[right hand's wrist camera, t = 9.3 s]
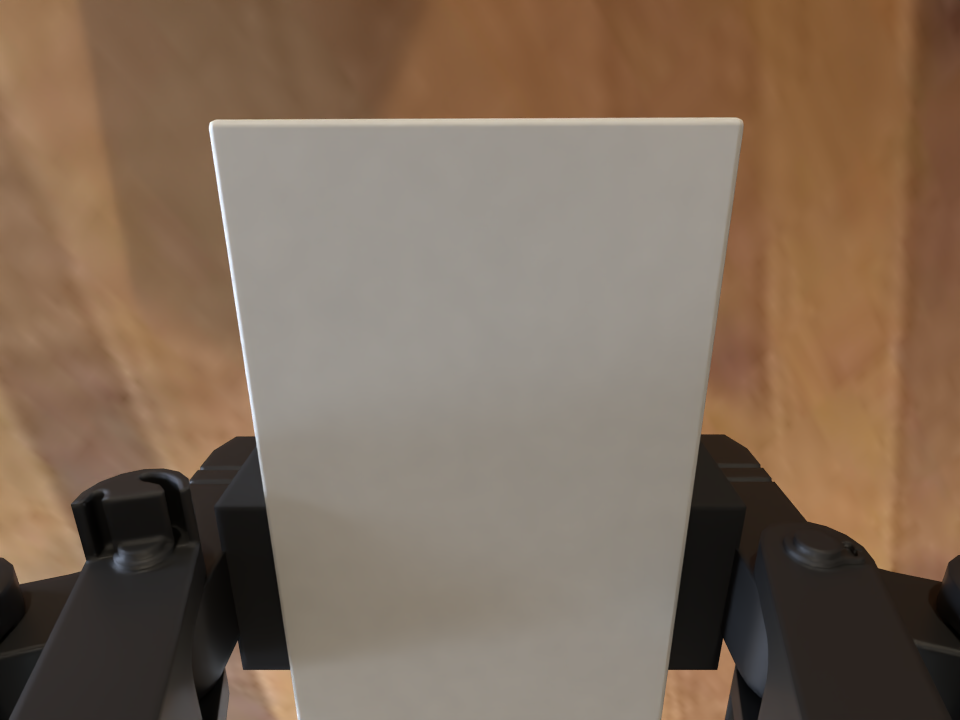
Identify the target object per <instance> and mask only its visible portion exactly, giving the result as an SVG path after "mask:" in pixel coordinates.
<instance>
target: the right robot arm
mask: <svg viewBox="0 0 960 720" xmlns="http://www.w3.org/2000/svg"><path fill="white" fill-rule="evenodd" d="M771 479H772V478H771V477H770V476H769V475H768V473H767V472H766V471H765V470H764V468H761V467H760V464H759V462H758V461H757V460H756V459H755V458H754V456H753V455H752V454H751V453H750V451H749V450H748V449H747V448H745V447H744V446H742V445H741V444H739V443H737V442H736V441H734V440H732V439H731V438H729V437H727V436H726V435H701V436H700V443H699V451H698V458H697V465H696V472H695V479H694V487H693V494H692V501H691V508H690V515H689V522H688V530H687V537H686V544H685V551H684V558H683V566H682V573H681V580H680V587H679V594H678V601H677V609H676V616H675V623H674V630H673V637H672V645H671V652H670V659H669V666H668V670H717V668H718V663H719V657H720V652H721V646H722V641H723V639H724V641H725V643H726V645H727V647H728V649H729V651H730V653H731V655H732V658H733V660H734V662H735V664H736V665H735V670H734V675H733V680H732V685H731V690H730V696H729V701H728V706H727V711H726V716H725V720H960V555H958V556H957V557H955V558H954V559H953V560H951V561H950V562H949V563H948V566H947V569H946V572H945V575H944V578H943V581H942V582H940V581H935V580H930V579H925V578H920V577H915V576H910V575H905V574H900V573H895V572H890V571H887V570H883V569H879V568H877V566H876V564H875V561H874V560H873V558H872V557H871V556H870V555H869V553H868V552H867V551H866V550H865V548H864V547H863V546H861V545H860V544H858V543H857V542H856V541H854V540H853V539H851V538H850V537H848V536H847V535H845V534H843V533H841V532H838V531H836V530H834V529H831V528H829V527H827V526H823V525H819V524H815V523H811V522H807V521H806V520H805V518H804V517H803V516H802V515H801V514H800V512H799V511H798V510H797V509H796V507H795V506H794V505H793V504H792V503H791V501H790V500H789V499H788V498H787V497H786V495H785V494H784V493H783V492H782V490H781V489H780V488H779V487H778V486H777V484H776V483H775V482H772V480H771ZM71 507H72V510H73V514H74V518H75V521H76V525H77V528H78V532H79V536H80V539H81V543H82V546H83V550H84V554H85V557H86V563H85V565H84V567H83V569H82V571H81V572H77V573H73V574H69V575H64V576H59V577H54V578H50V579H45V580H40V581H35V582H30V583H25V584H20V585H19V582H18V579H17V576H16V573H15V570H14V567H13V565H12V564H11V563H9V562H8V561H7V560H5V559H4V558H0V720H226V717H227V709H228V701H229V687H228V680H227V675H226V670H225V666H226V664H227V662H228V660H229V658H230V655H231V653H232V651H233V649H234V647H235V645H236V643H237V641H238V644H239V649H240V655H241V660H242V666H243V670H290V663H289V657H288V650H287V643H286V637H285V630H284V623H283V617H282V610H281V603H280V597H279V590H278V583H277V577H276V570H275V564H274V557H273V550H272V544H271V537H270V530H269V524H268V517H267V510H266V504H265V497H264V491H263V484H262V477H261V471H260V464H259V457H258V451H257V444H256V437H235V438H233V439H232V440H230V441H229V442H227V443H225V444H224V445H222V446H220V447H219V448H217V449H216V450H214V451H213V452H212V453H211V455H210V456H209V457H208V458H207V460H206V461H205V462H204V463H203V464H202V466H201V469H200V470H198V471H197V472H196V473H195V474H194V475H193V477H192V478H191V479H190V480H189V479H188V478H187V477H185V476H184V475H183V474H182V473H180V472H178V471H173V470H168V469H143V470H138V471H133V472H128V473H124V474H120V475H117V476H115V477H112V478H109V479H107V480H104V481H101V482H99V483H98V484H96V485H94V486H92V487H91V488H89V489H87V490H86V491H84V492H82V493H81V494H80V495H79V496H78V498H77V499H76V500H75V501H74V502H73V503H72V504H71Z"/></svg>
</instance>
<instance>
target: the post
mask: <svg viewBox="0 0 960 720" xmlns="http://www.w3.org/2000/svg"><path fill="white" fill-rule="evenodd" d="M743 127H744V125H743V121H742V120H741V119H739V118H737V117H729V118H489V119H249V120H214V121H212V122H210V125H209V132H210V139H211V145H212V152H213V159H214V165H215V172H216V179H217V185H218V192H219V198H220V205H221V212H222V218H223V225H224V232H225V238H226V245H227V252H228V258H229V265H230V272H231V278H232V285H233V291H234V298H235V305H236V311H237V318H238V325H239V331H240V338H241V345H242V351H243V358H244V364H245V371H246V378H247V384H248V391H249V398H250V404H251V411H252V418H253V424H254V431H255V437H256V444H257V451H258V457H259V464H260V471H261V477H262V484H263V491H264V497H265V504H266V510H267V517H268V524H269V530H270V537H271V544H272V550H273V557H274V564H275V570H276V577H277V583H278V590H279V597H280V603H281V610H282V617H283V623H284V630H285V637H286V643H287V650H288V657H289V663H290V670H291V676H292V683H293V690H294V696H295V703H296V710H297V716H298V720H661V716H662V709H663V702H664V695H665V688H666V681H667V673H668V666H669V659H670V652H671V645H672V637H673V630H674V623H675V616H676V609H677V601H678V594H679V587H680V580H681V573H682V566H683V558H684V551H685V544H686V537H687V530H688V522H689V515H690V508H691V501H692V494H693V487H694V479H695V472H696V465H697V458H698V451H699V443H700V436H701V429H702V422H703V415H704V408H705V400H706V393H707V386H708V379H709V372H710V364H711V357H712V350H713V343H714V336H715V329H716V321H717V314H718V307H719V300H720V293H721V285H722V278H723V271H724V264H725V257H726V249H727V242H728V235H729V228H730V221H731V214H732V206H733V199H734V192H735V185H736V178H737V170H738V163H739V156H740V149H741V142H742V135H743Z"/></svg>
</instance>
